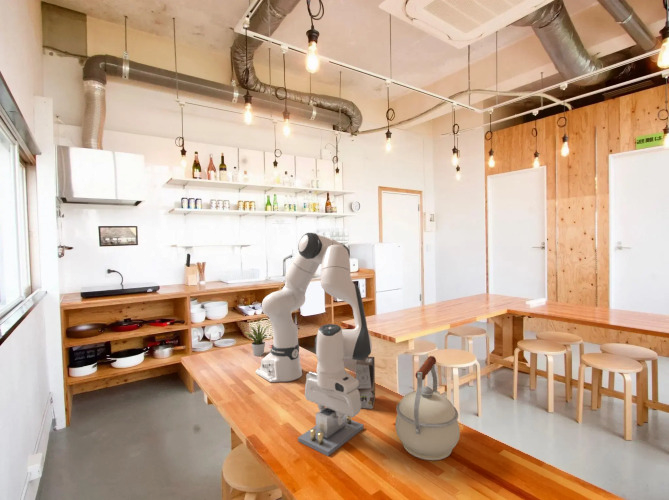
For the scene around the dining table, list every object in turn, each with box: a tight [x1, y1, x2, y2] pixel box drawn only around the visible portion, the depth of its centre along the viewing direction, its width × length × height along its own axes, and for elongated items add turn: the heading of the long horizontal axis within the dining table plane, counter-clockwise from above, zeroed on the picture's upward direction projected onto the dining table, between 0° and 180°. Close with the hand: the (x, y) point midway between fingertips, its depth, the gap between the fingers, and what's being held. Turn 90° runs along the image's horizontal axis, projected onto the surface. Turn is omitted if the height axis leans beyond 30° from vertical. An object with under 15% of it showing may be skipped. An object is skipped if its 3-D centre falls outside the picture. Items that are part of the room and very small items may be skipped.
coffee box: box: [355, 356, 376, 410], centre depth 130 cm, size 9×6×16 cm
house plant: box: [244, 323, 272, 357], centre depth 187 cm, size 14×14×16 cm
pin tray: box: [297, 416, 365, 457], centre depth 110 cm, size 12×18×4 cm, turn 141°
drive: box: [315, 407, 347, 438], centre depth 110 cm, size 4×10×6 cm, turn 141°
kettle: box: [394, 355, 461, 461], centre depth 104 cm, size 25×18×25 cm
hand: (331, 420), depth 110 cm, fingers closed on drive, 4 cm apart
